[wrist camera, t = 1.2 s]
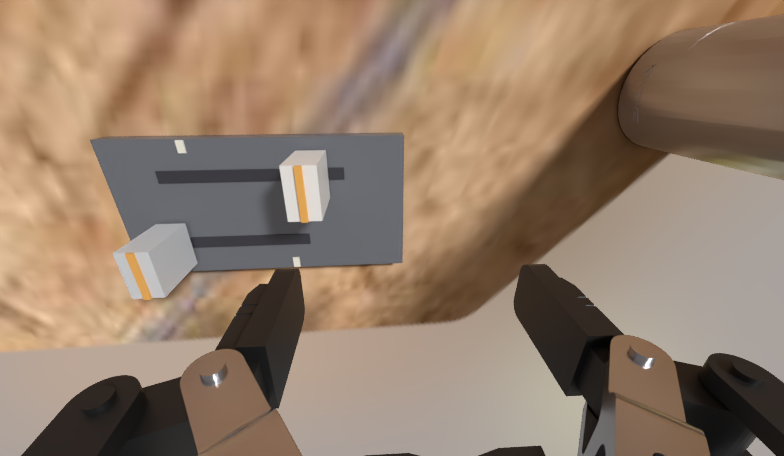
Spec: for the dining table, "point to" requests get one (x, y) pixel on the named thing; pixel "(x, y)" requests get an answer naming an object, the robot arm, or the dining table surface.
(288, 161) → the white fader
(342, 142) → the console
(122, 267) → the grey fader
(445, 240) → the dining table surface
